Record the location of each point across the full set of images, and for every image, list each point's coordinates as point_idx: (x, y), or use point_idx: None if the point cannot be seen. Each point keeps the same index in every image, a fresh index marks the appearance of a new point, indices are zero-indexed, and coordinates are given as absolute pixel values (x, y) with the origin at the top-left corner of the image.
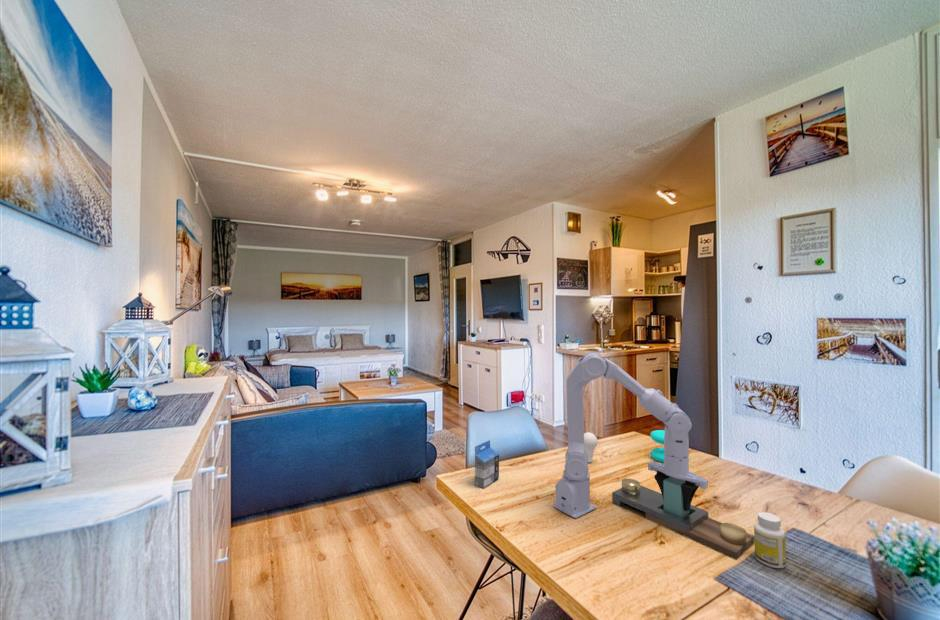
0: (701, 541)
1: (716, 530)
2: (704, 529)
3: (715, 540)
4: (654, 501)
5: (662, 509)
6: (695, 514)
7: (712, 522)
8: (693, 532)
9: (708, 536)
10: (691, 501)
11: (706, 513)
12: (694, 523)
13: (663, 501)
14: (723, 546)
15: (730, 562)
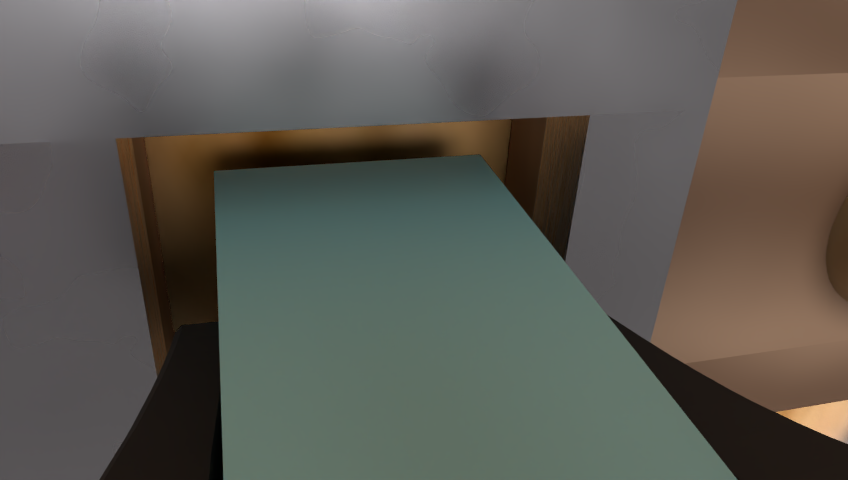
0: None
1: (791, 205)
2: (689, 292)
3: (788, 373)
4: (9, 403)
5: (161, 329)
6: (608, 228)
7: (744, 54)
8: None
9: (734, 367)
10: (645, 343)
11: (722, 52)
12: None
13: (84, 275)
14: (843, 395)
15: (839, 408)
